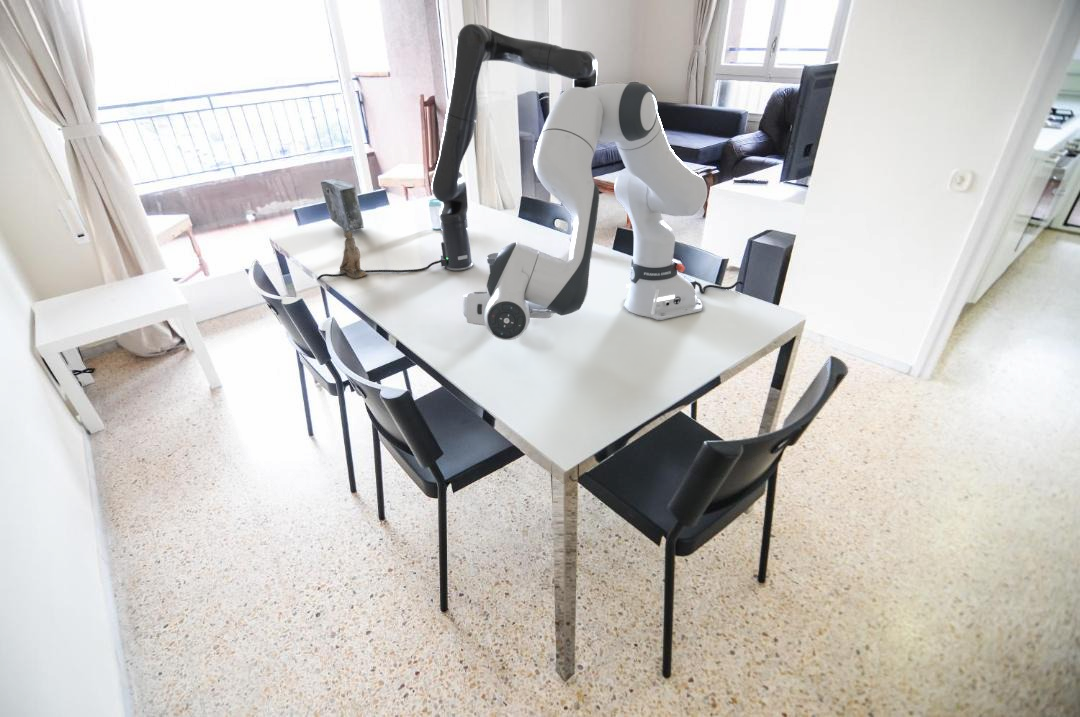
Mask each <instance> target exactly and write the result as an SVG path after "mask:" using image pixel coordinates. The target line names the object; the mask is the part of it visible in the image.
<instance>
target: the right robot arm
mask: <svg viewBox="0 0 1080 717" xmlns="http://www.w3.org/2000/svg"><path fill="white" fill-rule="evenodd" d="M658 107H659V106H658V100H657V96H656V94H655V92H654V91H653V90H652V88H651V87H650V86H649V85H647V84H645V83H641V82H635V81H634V82H633V81H632V82H628V83H620V82H619V83H618V82H616V83H603V84H600V85H596V86H593V87H589V88H582V87H573V86H572V87H569V88H567V89H565V90H563V91H562V92H561V94H559V96H558V97H557V99H556V100H555V102H554V104H553V106H552V108H551V110H550V112H549V114H548V115H547V117H546V119H545V121H544V124H543V126H542V129H541V132H540V135H539V138H538V140H537V144H536V148H535V151H534V155H533V168H534V172H535V174H536V177H537V179H538V180H539V181H540V184H541V185H542V186H543V188H544V189H545V190H546V191H547V192H548V193H549V194H550V195H552V196H553V197H554V198H555V199H556V200H557V201H558V202H560V204H562V206H563V207H564V208H565V209H566V210H567V211H568V213H569V214H570V216H571V218H572V219H573V231H572V232H573V233H572V232H571V233H572V239H571V242H570V246H569V253H568V258H567V259H566V260H565V259H562V258H558V257H556V256H553V255H550V254H548V253H546V252H543V251H540V250H539V249H536V248H533V247H532V246H531V247H530V246H529V245H525V244H523V243H520V242H517V241H515V242H512V243H510V244H508V245H506V246H505V247H503V248H501V250H500V251H499V252H498V253H499V254H498V256H497V258H496V260H495V262H494V264H493V266H492V269H491V272H490V271H489V275H488V278H487V282H486V289H487V291H473V292H472V291H470V292H467V294H464V295H463V298H462V299H463V300H462V301H463V302H462V304H463V305H462V314H463V316H464V317H465V319H466V323H468V324H473V325H479V326H483V327H486V329H487V331H488V332H489V333H490V334H491V335H492V336H494V337H495V338H497V339H499V340H503V341H512V340H515V339H518V338H519V337H521V336H522V335H523V334H524V333H525V332H526V330H527V329H528V326H529V324H530V320H531V319H551V318H553V314H556V315H559V316H566V315H571V314H572V313H575V312H576V311H579V310H580V309H581V308H582V306H583V305H584V303H585V300H586V298H587V296H588V291H589V277H590V266H591V258H592V252H593V245H594V240H595V239H594V238H595V234H596V233H595V232H596V227H597V220H598V213H599V203H600V188H599V186H598V185H597V183H596V182H595V180H594V177H593V172H592V164H593V158H594V156H595V153H596V149H597V146H598V144H599V145H600V144H603V145H604V144H609V143H615V147H616V149H617V151H618V154H619V155H620V158H621V160H622V163H623V165H624V167H625V168H623V169H621V171H620V172H619V173H618V174H617V176H616V178H615V181H614V185H613V186H614V188H613V190H614V196H615V198H616V200H617V202H618V203H620V204H621V206H622V207H623V209H624V210H625V212H626V214H627V216H628V218H629V221H630V224H631V228H632V235H633V252H632V259H631V261H630V268H629V279H630V283H629V284H626V288H628V292H627V296H626V299H625V300H624V304H623V306H624V308H625V310H627V311H628V312H629V313H631V314H635V315H637V316H641V317H647V318H651V319H653V320H656V321H663V320H667V319H673V318H678V317H681V316H685V315H686V316H687V315H691V314H694V313H699V312H702V311H703V302H702V301H701V299H700V298H698V297H697V296H696V288H697V286H698V289H699V293H700V294H704V293H705V291H706V290H707V289H709V288H713V289H718V290H725V291H727V290H728V291H729V290H732V289H734V288H736V286H738V285H739V284H740V285H744V282H743V281H742V280H737V281H735V283H734V284H732V285H730V286H721V285H716V284H707V285H706V284H705V286H703V287H702V284H701V283H700V282H698V281H697V280H695V279H694V278H691V277H689V276H688V275H684V276H683V275H682V274H680V273H683V272H684V271H685V270H686V267H685V265H684V264H682V263H679V262H678V261H677V260H675V259H674V253H675V245H676V234H675V231H674V230H673V229H672V227H670V226H669V225H668V224H667V222H666V221H665V220H664V217H663V215H667V216H673V217H691V216H695V215H696V214H697V213H699V212H700V211H701V210H702V208H703V207H704V205H705V203H706V202H707V197H708V186H707V183H706V181H705V179H704V177H702V176H700V175H698V173H695V172H694V171H693V170H691V169H690V168H689V167H687V165H686V164H684V163H683V161H682V160H681V159H680V158H679V157H678V156H677V155H676V154H675V152H674V150H673V149H672V148H671V146H670V144H669V141H668V138H667V135H666V133H665V131H664V128H663V124H662V121H661V118H660V116H659V112H658ZM726 289H727V290H726Z"/></svg>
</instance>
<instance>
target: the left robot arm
mask: <svg viewBox="0 0 1080 717" xmlns="http://www.w3.org/2000/svg"><path fill="white" fill-rule="evenodd" d="M454 56H455V57H454V58H455V59H454V70H453V75H452V76H453V78H452V81H451V82H452V83H451V87H450V91H449V99H448V103H447V108H446V113H445V119H444V125H443V132H442V137H441V142H440V149H439V155H438V160H437V164H436V166H435V171H434V173H433V177H432V182H431V191H432V194H433V197H434V198H435V199H437V200H439V201H440V202H443V203H442V208H441V211H440V214H439V215H440V223H441V229H440V230H441V235H442V242H441V243H440V246H441V250H442V251H441V253H442V255H440V260H435V261H433V262H431V263H429V264H428V265H427V266H424V267H421V268H415V269H413V268H412V269H367V270H366V269H365V270H364V271H365V273H366V274H368V273H414V272H415V273H417V272H422V271H425V270H429V268H431V267H432V266H433V265H437V264H440V267H444V269H445V270H449V271H454V272H459V271H467V270H469V269H471V268H472V266H473V260H472V250H471V242H470V234H469V224H468V216H467V213H468V209H469V208H468V207H469V206H468V191H467V183H466V180H465V178H464V176H463V174H462V173H461V172H460V169H461V165H462V162H463V159H464V156H465V155H466V152H467V150H468V149H469V147H470V144H471V141H472V140H473V137H474V133H475V128H476V124H477V119H478V110H479V109H478V108H479V107H478V106H479V105H478V81H479V77H480V73H481V68H482V65H483V63H485V62H490V61H491V62H506V63H511V64H515V65H518V66H520V67H524V68H526V69H530V70H533V71H537V72H541V73H544V74H545V73H546V74H550V75H557V76H561V77H563V78H568V79H570V80H572V87H582V88H589V87H593V86H597V77H598V60H597V57H596V56H595V54H594V53H592V51H589V50H578V49H572V48H566V47H562V46H560V45H557V44H552V43H549V42H543V41H538V40H530V39H522V38H516V37H512V36H509V35H505V34H503V33H501V32H498V31H496V30H493V29H491V28H488V27H486V26H485V25H483V24H477V23H468V24H466V25H464V26H462V28H461V29H460V31H459V32H458V35H457V38H456V45H455V55H454ZM343 276H344V277H345V276H347V273H336V274H333V273H323V274H320V275H319V276H317V278H316V280H321V279H322V278H323V277H329V278H330V277H332V278H335V277H336V278H337V277H338V278H339V277H343Z"/></svg>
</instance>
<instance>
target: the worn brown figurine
mask: <svg viewBox="0 0 1080 717" xmlns="http://www.w3.org/2000/svg"><path fill="white" fill-rule="evenodd" d="M343 236H344V238H346V239H345V240H344V249H343V253H342V254H343V255H342V261H341V264H340V266H339V273H340V274H343V273H347V275H346V276H347V277H350V278H352V279H356V280H357V279H360V278H362V277H366V276H367V273H365V270H363V269H362V268H361V252H360V249H359V247H358V246H357V244H356V243H357V242H356V239H355V237H354V234H353V231H350V230H348V231H346V230H345V232H344V234H343Z"/></svg>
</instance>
